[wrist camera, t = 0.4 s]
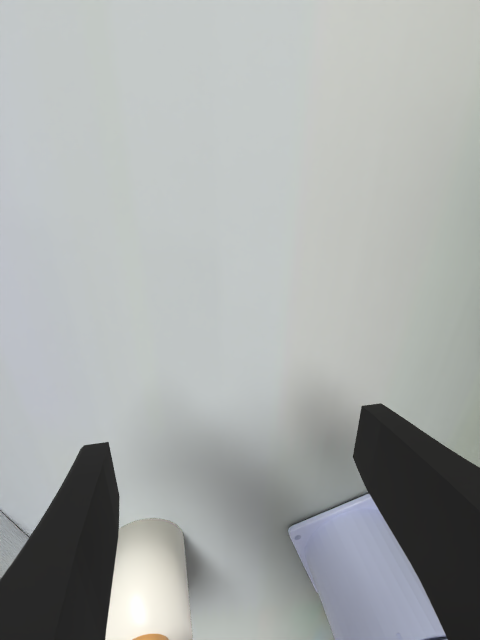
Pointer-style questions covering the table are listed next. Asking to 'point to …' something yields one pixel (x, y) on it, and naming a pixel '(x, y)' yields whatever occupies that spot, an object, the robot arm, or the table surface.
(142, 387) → the table surface
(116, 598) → the white orange-capped bottle
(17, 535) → the grey two-tone device
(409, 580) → the robot arm
